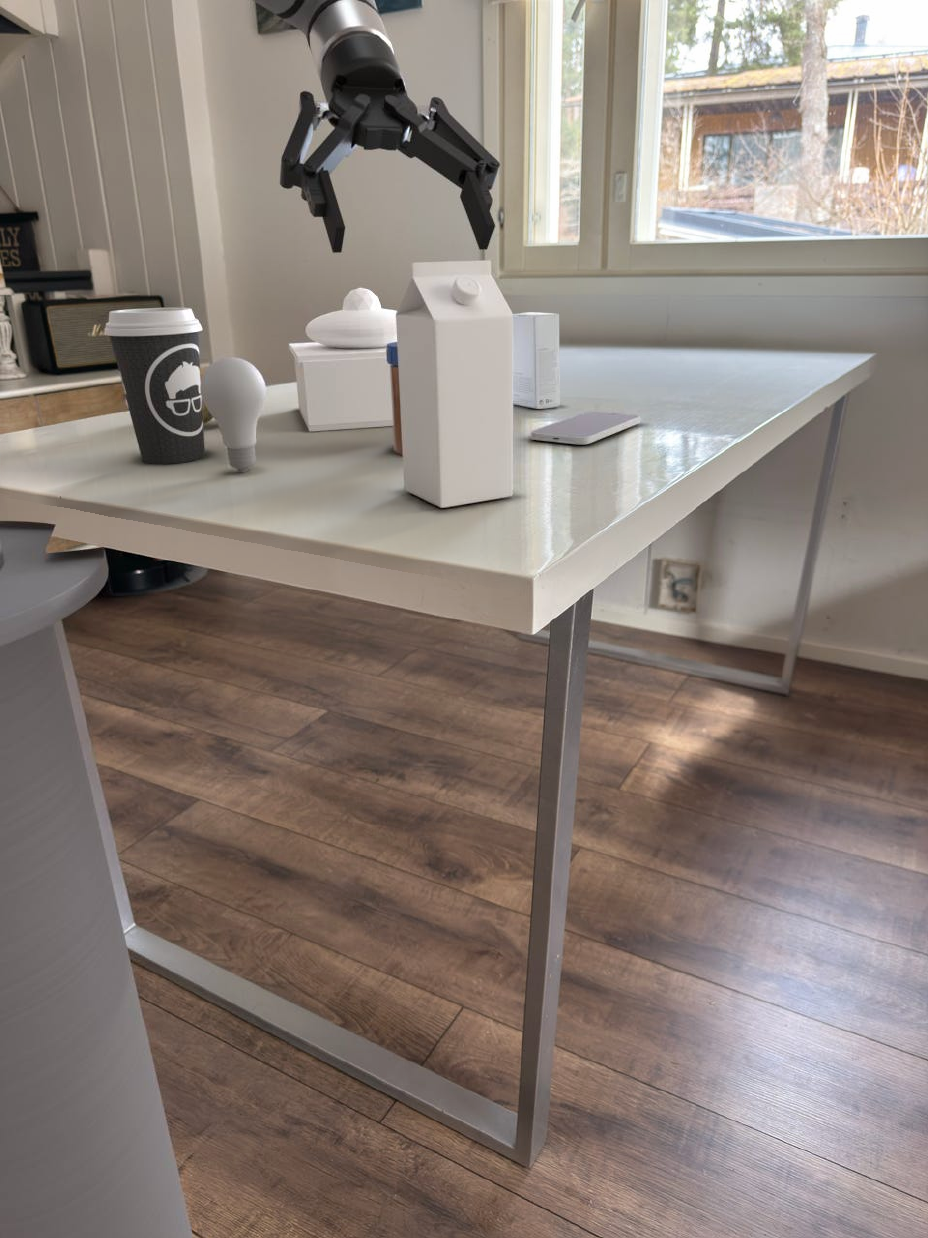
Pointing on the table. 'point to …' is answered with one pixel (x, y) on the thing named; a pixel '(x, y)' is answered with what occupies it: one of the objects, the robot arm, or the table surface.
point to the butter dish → (346, 366)
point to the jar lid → (392, 353)
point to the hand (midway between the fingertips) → (415, 239)
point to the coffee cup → (161, 380)
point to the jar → (396, 408)
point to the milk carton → (456, 384)
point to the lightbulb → (235, 406)
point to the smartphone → (585, 427)
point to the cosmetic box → (536, 360)
